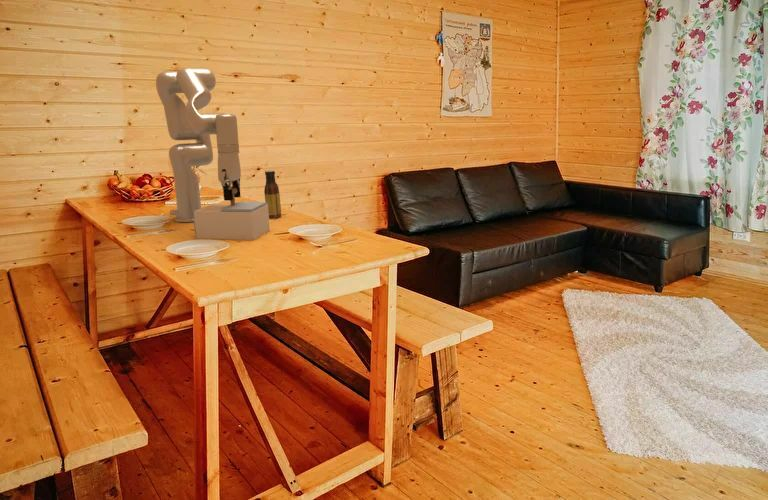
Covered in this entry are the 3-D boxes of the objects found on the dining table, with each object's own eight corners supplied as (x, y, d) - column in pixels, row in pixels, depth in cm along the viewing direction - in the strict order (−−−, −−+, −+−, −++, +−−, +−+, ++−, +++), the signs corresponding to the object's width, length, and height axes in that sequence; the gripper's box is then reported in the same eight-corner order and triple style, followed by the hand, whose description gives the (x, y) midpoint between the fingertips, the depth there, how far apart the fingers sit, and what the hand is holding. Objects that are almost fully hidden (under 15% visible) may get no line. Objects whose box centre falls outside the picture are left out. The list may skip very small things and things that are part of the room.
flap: (221, 211, 204) (219, 191, 202) (238, 203, 218) (236, 185, 216) (251, 211, 202) (250, 191, 200) (266, 204, 216) (265, 185, 214)
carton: (195, 238, 208) (192, 210, 205) (214, 228, 223) (212, 203, 220) (253, 239, 204) (251, 211, 201) (269, 230, 219) (267, 203, 217)
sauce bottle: (277, 215, 248) (274, 169, 243) (284, 217, 243) (281, 170, 238) (263, 217, 244) (260, 170, 239) (270, 219, 239) (267, 172, 234)
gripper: (228, 147, 214) (232, 194, 219) (207, 151, 198) (212, 202, 202) (247, 147, 213) (251, 195, 218) (228, 151, 196) (232, 202, 201)
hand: (232, 198), depth 210 cm, fingers open, 6 cm apart
